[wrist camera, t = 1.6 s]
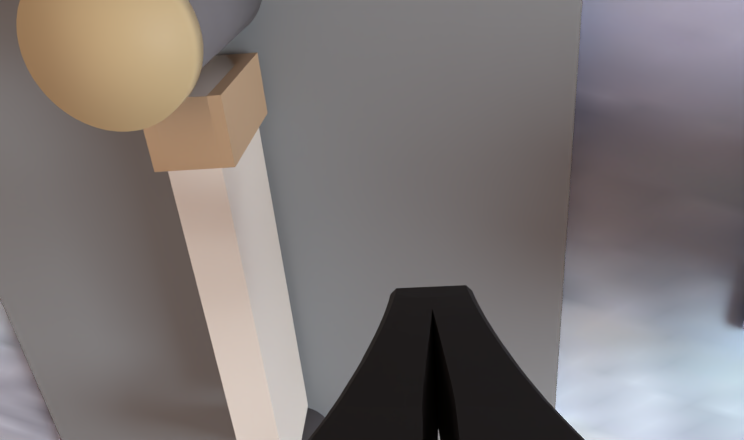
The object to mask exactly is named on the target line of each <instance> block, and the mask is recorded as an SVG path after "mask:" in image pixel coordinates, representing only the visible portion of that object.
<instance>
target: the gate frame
mask: <svg viewBox="0 0 744 440" xmlns="http://www.w3.org/2000/svg"><path fill="white" fill-rule="evenodd" d="M581 10H582V0H0V299H1V302H2V304H3V306H4V308H5V311H6V313H7V315H8V318H9V320H10V322H11V325H12V327H13V329H14V332H15V334H16V336H17V338H18V341H19V343H20V345H21V348H22V350H23V352H24V355H25V357H26V359H27V362H28V364H29V366H30V368H31V371H32V373H33V375H34V378H35V380H36V382H37V385H38V387H39V389H40V391H41V394H42V396H43V398H44V401H45V403H46V405H47V408H48V410H49V412H50V415H51V417H52V419H53V421H54V424H55V426H56V428H57V431H58V433H59V435H60V438H61V440H236V436H235V432H234V428H233V424H232V420H231V416H230V412H229V408H228V404H227V401H226V397H225V393H224V389H223V385H222V381H221V377H220V373H219V369H218V365H217V361H216V358H215V354H214V350H213V346H212V342H211V338H210V334H209V330H208V326H207V322H206V318H205V314H204V311H203V307H202V303H201V299H200V295H199V291H198V287H197V283H196V279H195V275H194V271H193V268H192V264H191V260H190V256H189V252H188V248H187V244H186V240H185V236H184V232H183V228H182V225H181V221H180V217H179V213H178V209H177V205H176V201H175V197H174V193H173V189H172V185H171V181H170V178H169V174H168V171H163V172H154V168H153V164H152V161H151V157H150V153H149V149H148V146H147V142H146V138H145V134H144V131H143V129H145V128H149V127H151V126H153V125H155V124H158V123H159V122H161V121H162V120H164V119H166V118H167V117H168V116H169V115H170V114H171V113H173V112H174V111H175V110H176V109H177V108H178V107H179V106H180V105H181V104H182V103H183V102H184V101H185V100H186V98H187V97H188V96H189V95H190V94H191V92H192V90H193V89H194V87H195V86H196V83H197V81H198V79H199V76H200V73H201V69H202V67H204V66H205V65H206V64H207V63H208V62H209V61H210V60H211V59H212V58H213V57H214V56H216V55H230V54H243V53H256V52H257V53H258V59H259V65H260V71H261V77H262V83H263V89H264V95H265V100H266V106H267V112H268V113H267V115H266V116H265V118H264V120H263V122H262V123H261V125H260V127H259V131H260V136H261V142H262V148H263V153H264V159H265V165H266V170H267V176H268V182H269V187H270V193H271V199H272V204H273V210H274V216H275V221H276V227H277V233H278V238H279V244H280V250H281V255H282V261H283V267H284V272H285V278H286V284H287V289H288V295H289V300H290V306H291V312H292V317H293V323H294V329H295V334H296V340H297V346H298V351H299V357H300V363H301V368H302V374H303V380H304V385H305V391H306V397H307V402H308V408H307V413H306V419H305V424H304V429H303V434H302V440H308V439H309V438H310V436H311V435H312V434H313V433H314V431H315V430H316V429H317V427H318V426H319V425H320V423H321V422H322V421H323V419H324V418H325V417H326V415H327V414H328V412H329V411H330V410H331V408H332V407H333V405H334V404H335V402H336V401H337V399H338V398H339V396H340V395H341V393H342V392H343V390H344V388H345V387H346V385H347V384H348V382H349V380H350V379H351V377H352V376H353V374H354V372H355V371H356V369H357V367H358V366H359V364H360V362H361V360H362V358H363V356H364V355H365V353H366V351H367V349H368V347H369V345H370V343H371V341H372V339H373V337H374V335H375V333H376V331H377V329H378V327H379V325H380V322H381V320H382V318H383V315H384V313H385V310H386V307H387V304H388V301H389V298H390V294H391V293H392V292H393V291H394V290H395V289H396V288H412V287H435V286H457V285H467V286H468V287H469V288H470V289H471V290H472V291H473V293H474V296H475V298H476V300H477V302H478V304H479V306H480V308H481V310H482V311H483V313H484V315H485V317H486V318H487V320H488V322H489V323H490V325H491V326H492V328H493V330H494V331H495V333H496V334H497V336H498V337H499V339H500V340H501V342H502V343H503V345H504V346H505V347H506V349H507V350H508V352H509V353H510V354H511V356H512V357H513V358H514V360H515V361H516V363H517V364H518V365H519V367H520V368H521V369H522V370H523V372H524V373H525V374H526V376H527V377H528V378H529V379H530V381H531V382H532V383H533V384H534V385H535V387H536V388H537V389H538V390H539V391H540V393H541V394H542V395H543V396H544V397H545V398H546V400H547V401H548V402H549V403H550V404H551V405H552V406H553V407H554V409H555V402H556V386H557V371H558V356H559V341H560V326H561V311H562V296H563V281H564V266H565V251H566V236H567V221H568V206H569V191H570V176H571V161H572V146H573V130H574V115H575V100H576V85H577V70H578V55H579V40H580V25H581ZM438 440H440V435H439V429H438Z"/></svg>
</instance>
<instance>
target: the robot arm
mask: <svg viewBox="0 0 744 440" xmlns="http://www.w3.org/2000/svg"><path fill="white" fill-rule="evenodd" d="M743 329H744V321H743ZM438 429H439V435H440V440H584V439H583V438H582V437H581V436H580V435H579V434H578V433H577V432H576V431H575V430H574V428H573V427H572V426H571V425H570V424H569V423H568V422H567V421H566V420H565V419H564V418H563V417H562V416H561V415H560V414H559V413H558V412H557V411H556V410H555V409H554V407H553V406H552V405H551V404H550V403H549V402H548V401H547V400H546V398H545V397H544V396H543V395H542V394H541V393H540V391H539V390H538V389H537V388H536V387H535V385H534V384H533V383H532V382H531V381H530V379H529V378H528V377H527V376H526V374H525V373H524V372H523V370H522V369H521V368H520V367H519V365H518V364H517V363H516V361H515V360H514V358H513V357H512V356H511V354H510V353H509V352H508V350H507V349H506V347H505V346H504V345H503V343H502V342H501V340H500V339H499V337H498V336H497V334H496V333H495V331H494V330H493V328H492V326H491V325H490V323H489V322H488V320H487V318H486V317H485V315H484V313H483V311H482V310H481V308H480V306H479V304H478V302H477V300H476V298H475V296H474V293H473V291H472V290H471V289H470V288H469V287H468V286H467V285H457V286H435V287H412V288H396V289H395V290H394V291H393V292H392V293H391V294H390V298H389V301H388V304H387V307H386V310H385V313H384V315H383V318H382V320H381V322H380V325H379V327H378V329H377V331H376V333H375V335H374V337H373V339H372V341H371V343H370V345H369V347H368V349H367V351H366V353H365V355H364V356H363V358H362V360H361V362H360V364H359V366H358V367H357V369H356V371H355V372H354V374H353V376H352V377H351V379H350V380H349V382H348V384H347V385H346V387H345V388H344V390H343V392H342V393H341V395H340V396H339V398H338V399H337V401H336V402H335V404H334V405H333V407H332V408H331V410H330V411H329V412H328V414H327V415H326V417H325V418H324V419H323V421H322V422H321V423H320V425H319V426H318V427H317V429H316V430H315V431H314V433H313V434H312V435H311V436H310V438H309V439H308V440H438Z"/></svg>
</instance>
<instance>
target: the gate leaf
mask: <svg viewBox="0 0 744 440" xmlns="http://www.w3.org/2000/svg"><path fill="white" fill-rule="evenodd" d="M267 113H268V112H267V106H266V100H265V95H264V89H263V83H262V77H261V71H260V65H259V59H258V53H257V52H256V53H243V54H230V55H216V56H214V57H213V58H212V59H211V60H210V61H209V62H208V63H207V64H206V65H205V66H204V67H202V69H201V73H200V76H199V79H198V81H197V83H196V86H195V87H194V89H193V90H192V92H191V94H190V95H189V96H188V97H187V98H186V100H185V101H184V102H183V103H182V104H181V105H180V106H179V107H178V108H177V109H176V110H175V111H174V112H173V113H171V114H170V115H169V116H168V117H167V118H166V119H164V120H162V121H161V122H159V123H158V124H155V125H153V126H151V127H149V128H145V129H143V131H144V134H145V138H146V142H147V146H148V149H149V153H150V157H151V161H152V164H153V168H154V172H163V171H168V174H169V178H170V181H171V185H172V189H173V193H174V197H175V201H176V205H177V209H178V213H179V217H180V221H181V225H182V228H183V232H184V236H185V240H186V244H187V248H188V252H189V256H190V260H191V264H192V268H193V271H194V275H195V279H196V283H197V287H198V291H199V295H200V299H201V303H202V307H203V311H204V314H205V318H206V322H207V326H208V330H209V334H210V338H211V342H212V346H213V350H214V354H215V358H216V361H217V365H218V369H219V373H220V377H221V381H222V385H223V389H224V393H225V397H226V401H227V404H228V408H229V412H230V416H231V420H232V424H233V428H234V432H235V436H236V440H302V434H303V429H304V424H305V419H306V413H307V408H308V402H307V397H306V391H305V385H304V380H303V374H302V368H301V363H300V357H299V351H298V346H297V340H296V334H295V329H294V323H293V317H292V312H291V306H290V300H289V295H288V289H287V284H286V278H285V272H284V267H283V261H282V255H281V250H280V244H279V238H278V233H277V227H276V221H275V216H274V210H273V204H272V199H271V193H270V187H269V182H268V176H267V170H266V165H265V159H264V153H263V148H262V142H261V136H260V131H259V127H260V125H261V123H262V122H263V120H264V118H265V116H266V115H267Z"/></svg>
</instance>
